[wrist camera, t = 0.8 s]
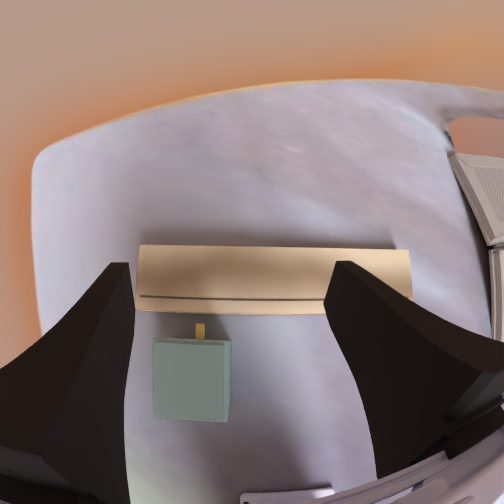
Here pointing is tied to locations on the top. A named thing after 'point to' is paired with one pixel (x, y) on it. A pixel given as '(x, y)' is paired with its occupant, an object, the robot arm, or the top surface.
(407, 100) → the top surface
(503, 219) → the gadget
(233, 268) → the plank
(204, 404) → the green box with tab
